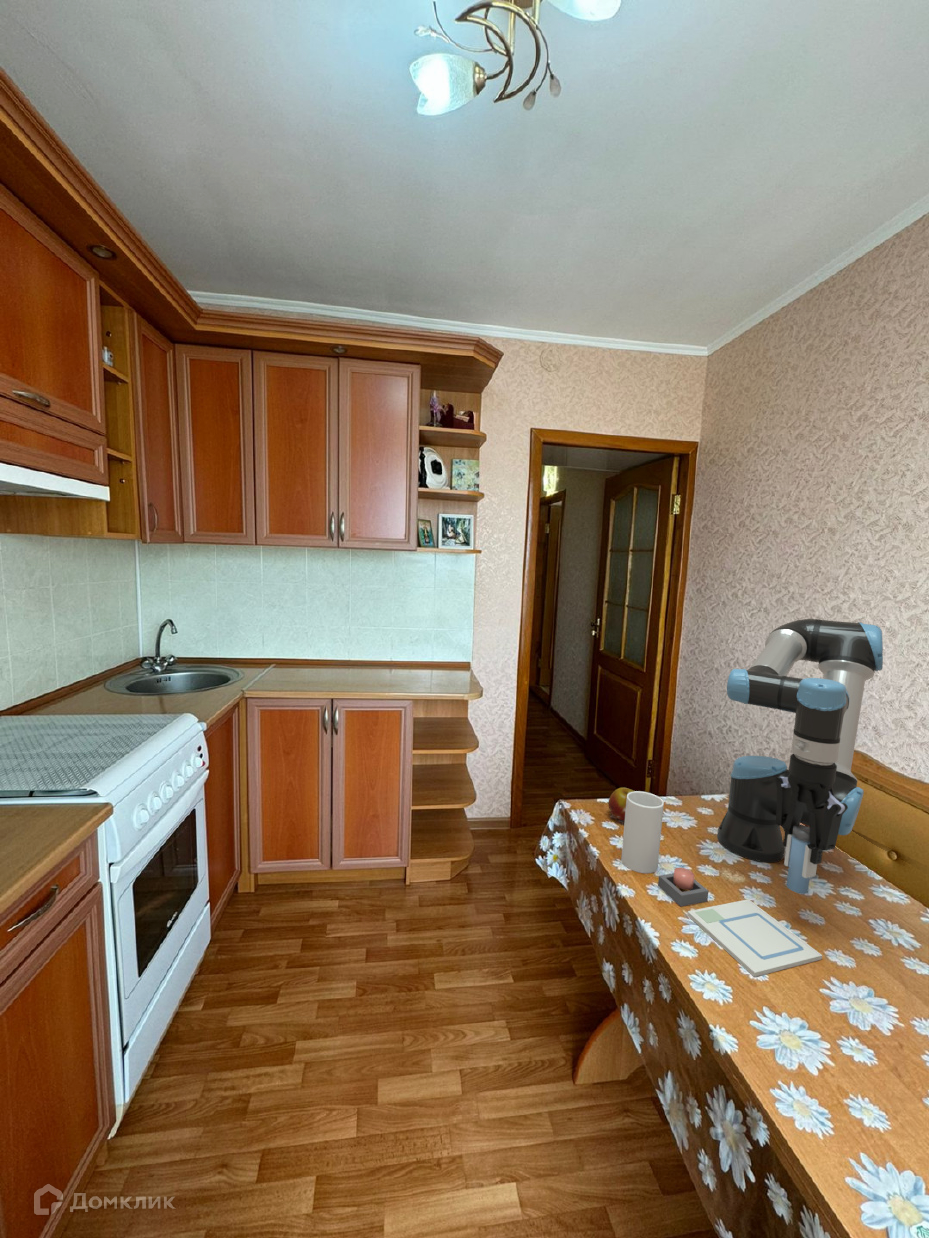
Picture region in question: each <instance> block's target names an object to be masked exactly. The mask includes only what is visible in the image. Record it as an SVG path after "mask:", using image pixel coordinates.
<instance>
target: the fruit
mask: <svg viewBox="0 0 929 1238" xmlns="http://www.w3.org/2000/svg"><path fill="white" fill-rule="evenodd" d="M634 791H635V790H633V789H632V788H631V789H630V788H627V787H619V788H617V789H615V790H614V791H613V792H612V793H611V794H610V795H609V798H608V799H609V800H608V809H609V812H610V813H611V815H612V816H613V817H614V818H616V819H617V820H619V821H623V822H625V811H626V800H627V794H628V793H630V792H634Z"/></svg>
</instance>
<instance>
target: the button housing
mask: <svg viewBox="0 0 929 1238" xmlns="http://www.w3.org/2000/svg"><path fill="white" fill-rule="evenodd" d="M673 878H674V872H673V873H672V872H671V873H667V874H660V875H658V882H657V887H659V888H660V889H661V890H662V891H663V892H664V893H665V894H666V895H667V896H668V897H669V898H670V899H672V900H673V901H674V902H675V903H676V904H677V905H678V906H679V907H684V906H689V905H695V904H701V903H705V902H708V901H709V900H708V899H709V890H708V889H707V888H706V887H705V886H703V885H702V884H701V883H700V882H698V881H697V880H696V879H695V878H694V884H693V888H692V889H691V890H685V891H681V890H680V888H679V887H677V886H676V885H675V884H674V883H673Z"/></svg>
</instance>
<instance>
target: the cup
mask: <svg viewBox="0 0 929 1238" xmlns="http://www.w3.org/2000/svg"><path fill="white" fill-rule="evenodd" d="M633 791H634V792H630V793H628V794H627V800H626V811H625V821H624V824H623V825H624V826H623V833H622V834H623V835H622V847H621V848H622V849H621V858H620V859H621V862H622V864H623V865H624V867H626V868H627V869H629V870H631V871H632V872H633V871H634V872H636V873H641V874H653V873H655V872H656V871H658V868H659V857H660V849H661V848H660V847H661V836H662V835H661V834H662V828H663V816H664V815H663V814H664V803H665V802H664V800H663V799H662V798H661V797H659V795H655V794H653V793H651V792H647V791H641V790H638V791H637V790H636V791H635V790H633Z"/></svg>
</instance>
